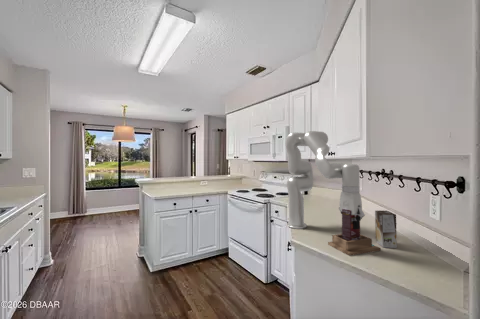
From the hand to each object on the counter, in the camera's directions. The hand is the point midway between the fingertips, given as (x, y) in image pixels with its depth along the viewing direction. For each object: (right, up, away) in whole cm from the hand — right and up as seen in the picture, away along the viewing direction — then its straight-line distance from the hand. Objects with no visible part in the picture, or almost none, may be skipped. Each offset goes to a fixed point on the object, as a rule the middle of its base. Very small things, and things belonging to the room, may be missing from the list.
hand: (351, 226), depth 109 cm
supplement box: (0, -7, 0) cm, 7 cm away
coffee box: (+19, -10, +3) cm, 22 cm away
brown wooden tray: (+1, -10, 0) cm, 10 cm away
